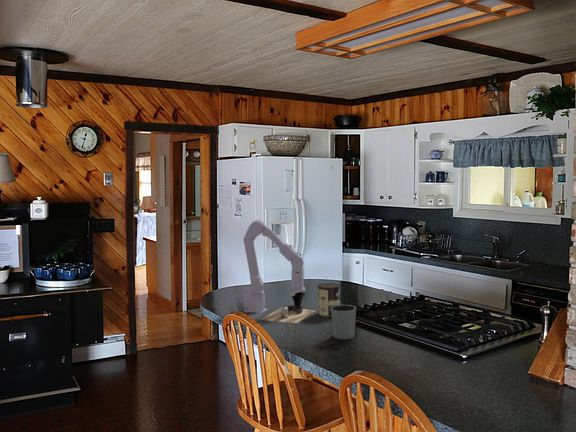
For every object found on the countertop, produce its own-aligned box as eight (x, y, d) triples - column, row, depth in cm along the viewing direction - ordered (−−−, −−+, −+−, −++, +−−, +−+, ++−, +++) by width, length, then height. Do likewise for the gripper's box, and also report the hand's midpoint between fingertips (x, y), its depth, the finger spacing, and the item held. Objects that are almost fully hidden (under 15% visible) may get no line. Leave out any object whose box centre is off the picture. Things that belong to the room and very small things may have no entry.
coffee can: (341, 312, 272) (340, 283, 271) (338, 318, 262) (338, 287, 261) (319, 311, 274) (319, 282, 273) (316, 317, 264) (316, 287, 263)
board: (260, 320, 260) (260, 319, 260) (282, 308, 282) (281, 307, 282) (296, 324, 253) (296, 323, 253) (316, 311, 275) (316, 310, 275)
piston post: (280, 318, 262) (279, 308, 262) (282, 316, 265) (282, 306, 265) (286, 318, 261) (286, 308, 260) (289, 316, 264) (289, 307, 263)
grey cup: (358, 333, 237) (358, 305, 236) (353, 341, 227) (352, 311, 226) (334, 332, 240) (334, 303, 239) (328, 339, 231) (328, 309, 230)
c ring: (288, 309, 278) (288, 304, 278) (305, 310, 274) (305, 305, 274) (282, 312, 272) (282, 307, 272) (300, 314, 268) (300, 309, 268)
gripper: (299, 283, 268) (299, 311, 269) (310, 277, 281) (311, 304, 282) (285, 282, 271) (286, 310, 272) (297, 276, 284) (297, 303, 285)
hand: (297, 307), depth 277 cm, fingers closed
